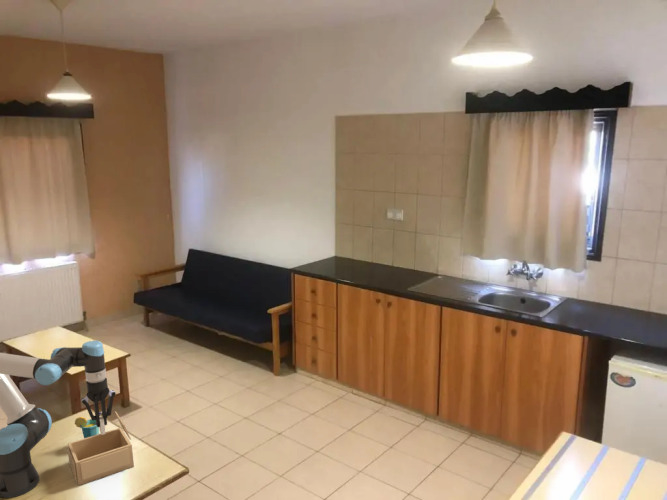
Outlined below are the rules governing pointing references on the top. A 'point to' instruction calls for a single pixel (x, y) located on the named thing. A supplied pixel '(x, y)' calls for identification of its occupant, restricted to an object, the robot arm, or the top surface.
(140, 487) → the top surface
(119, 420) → the flap
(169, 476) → the top surface
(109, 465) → the open wooden box
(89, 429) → the cup
